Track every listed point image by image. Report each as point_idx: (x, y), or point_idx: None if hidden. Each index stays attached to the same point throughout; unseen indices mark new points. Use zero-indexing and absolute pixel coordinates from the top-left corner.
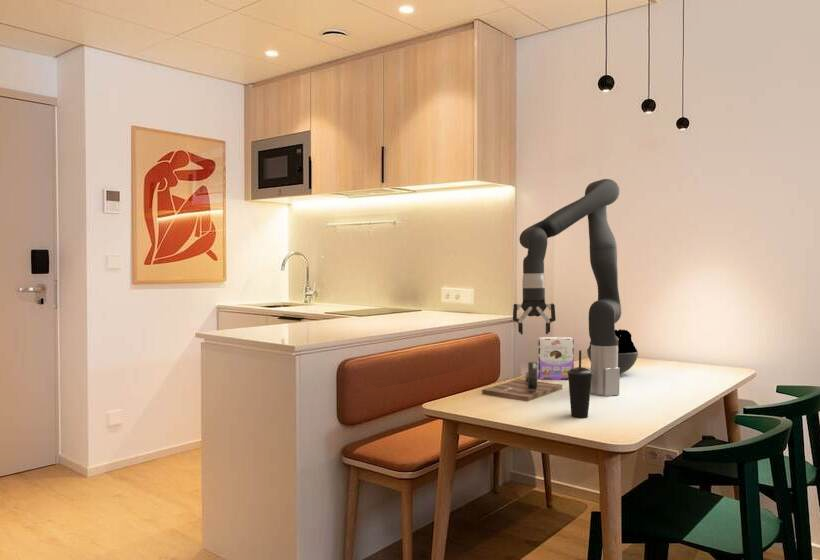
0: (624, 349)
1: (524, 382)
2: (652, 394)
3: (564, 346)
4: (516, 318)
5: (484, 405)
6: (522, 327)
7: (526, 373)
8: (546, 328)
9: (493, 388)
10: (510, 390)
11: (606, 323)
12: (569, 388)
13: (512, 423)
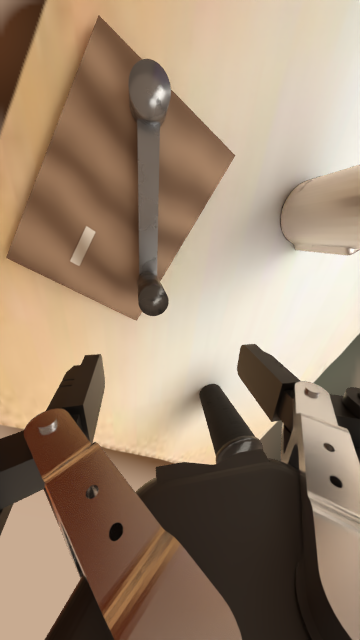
0: None
1: (125, 113)
2: None
3: None
4: (6, 518)
5: (50, 364)
6: (96, 420)
7: (131, 98)
8: (254, 395)
9: (36, 233)
10: (90, 256)
11: None
12: (209, 431)
13: (115, 444)
